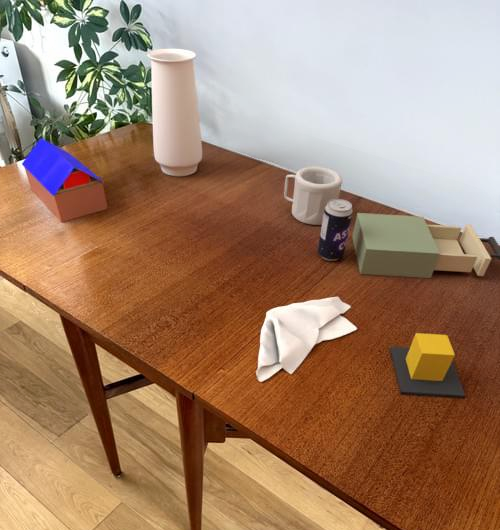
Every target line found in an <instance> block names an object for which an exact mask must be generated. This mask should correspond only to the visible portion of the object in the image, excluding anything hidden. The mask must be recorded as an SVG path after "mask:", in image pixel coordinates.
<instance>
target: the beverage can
mask: <svg viewBox="0 0 500 530" xmlns="http://www.w3.org/2000/svg"><path fill="white" fill-rule="evenodd" d="M353 213H354V210H353V204H352V203H351V202H350V201H348V200H346V199H343V198H338V199H332V200H330V201H328V203H327V206H326V207H325V209H324V215H323V221H322V225H321V228H320V234H319V240H318V246H317V253H318V255H319V256H321V258H322V259H324V260H326V261H329V262H333V261H334V262H335V261H338V260H339V259H341V258H343V257H344V256H345V251H346V247H347V241H348V237H349V232H350V229H351V223H352V219H353Z"/></svg>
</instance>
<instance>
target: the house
mask: <svg viewBox="0 0 500 530" xmlns="http://www.w3.org/2000/svg"><path fill="white" fill-rule="evenodd" d="M21 165H22V166H23V167H24V170H25V173H26V177H27V180H28V183H29V187H30V190H31V192H32V193H34V195H35V196H36V197H37V198H38V199H39V200H40V201H41V202H42V203H43V204H44V205H45V206H46V207H47V209H49V210H50V212H51V213H52V214H53V215H54V216H55V217H56V218H57V219H58V221H60V222H61V223H64V222H67V221H71V220H74V219H78V218H82V217H84V216H89V215H91V214H95V213H98V212H101V211H105V210H108V204H107V199H106V198H107V197H106V191H105V188H104V181H103V179H101V178H100V177H99V176H98V175H96V174H95V173H94V172H93V171H92V170H90V169H89V168H88V167H87V166H86V165H84V164H83V163H82V162H81V161H80V160H78V158H76V157H75V156H73V155H72V154H71V153H70V152H68V151H66V150H64V149H63V148H61V147H59V146H57V145H55V144H53V143H51V142H50V141H47V140H46V139H44V138H42V137H40V138H39V140H37V142H36V144H34V146H33V147H32V148H31V151H30V152H29V153H28V154H27V156H26V157H25V159H24V160H23V161H22V163H21Z"/></svg>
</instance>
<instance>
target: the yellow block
mask: <svg viewBox="0 0 500 530" xmlns="http://www.w3.org/2000/svg"><path fill="white" fill-rule="evenodd" d="M450 341H451V340H450V339H449V336H448V334H439V333H438V334H437V333H419V332H416V333H415V334H414V337H413V339H412V341H411V344H410V347H409V348H410V349H409V352H408V354H407V357H406V362H407V366H408V369H409V373H410V376H411V379H416V380H433V381H442V380H443V378H444V376H445V374H446V372H447V370H448V368H449V366H450V364H451V362H452V361H454V359H455V356H456V354H455V351H454V349H453V347H452V343H451V342H450Z"/></svg>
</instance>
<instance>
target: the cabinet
mask: <svg viewBox="0 0 500 530" xmlns="http://www.w3.org/2000/svg"><path fill="white" fill-rule="evenodd" d="M425 219H426V218H425V217H424V216H418V215H400V214H399V215H398V214H386V213H385V214H384V213H383V214H382V213H365V212H357V213H356V217H355V221H354V227H353V231H352V234H351V237H352V242H353V246H354V252H355V256H356V261H357V264H358V265H357V266H358V270H359V274H360V275H371V276H386V277H402V278H403V277H404V278H421V279H431V278H432V275H433V273H434V271H435V270H434V268H435V266H436V263H437V260H438V258H439V255H440V252H439V250H438V248H437V246H436V243H435V241H434V239H433V237H432V235H431V232H430V230H429V228H428V226H427V221H426V220H425Z"/></svg>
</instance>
